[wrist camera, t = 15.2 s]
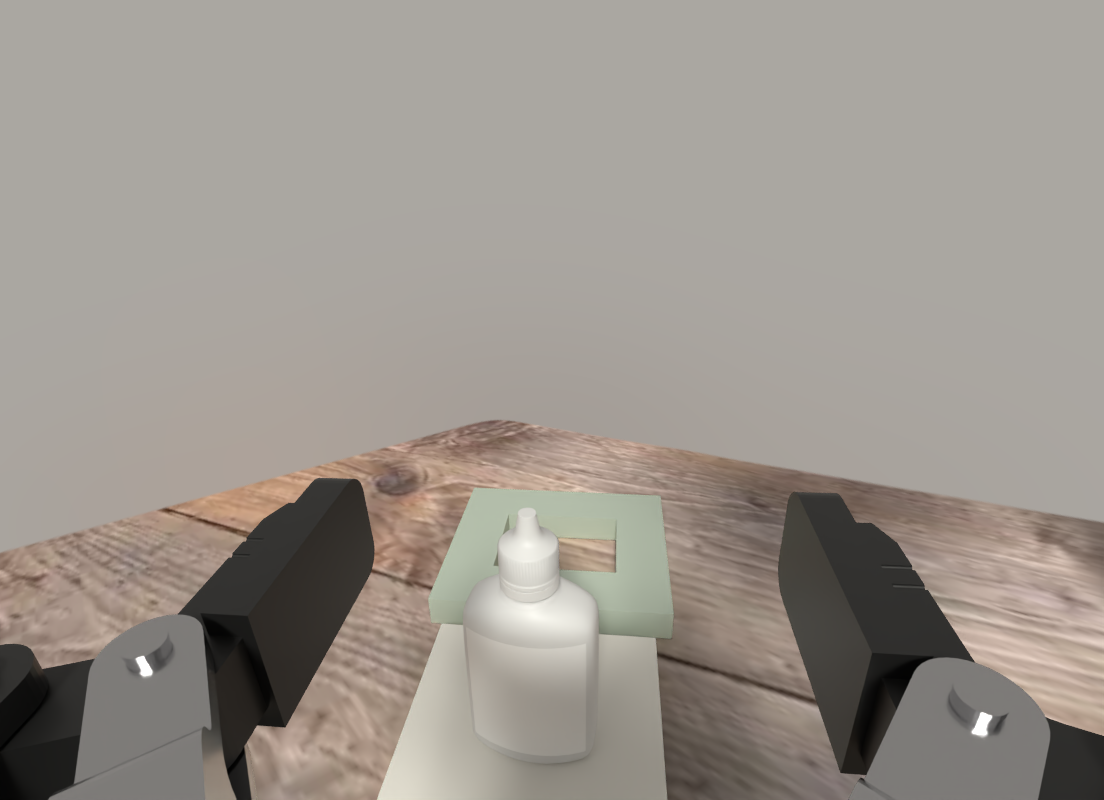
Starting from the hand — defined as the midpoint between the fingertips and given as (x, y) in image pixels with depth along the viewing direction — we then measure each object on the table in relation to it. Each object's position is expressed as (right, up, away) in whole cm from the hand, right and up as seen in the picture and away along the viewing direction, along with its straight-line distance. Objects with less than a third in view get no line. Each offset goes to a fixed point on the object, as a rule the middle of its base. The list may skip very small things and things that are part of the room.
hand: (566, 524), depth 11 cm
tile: (-1, -14, +17) cm, 22 cm away
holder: (0, -9, +29) cm, 30 cm away
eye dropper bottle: (-1, -13, +16) cm, 21 cm away
